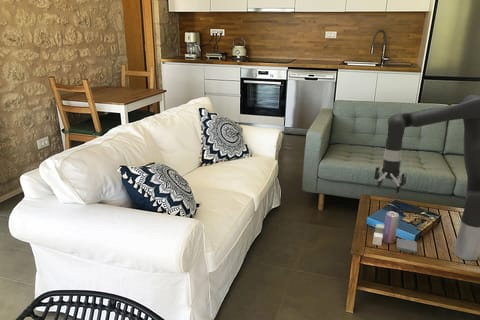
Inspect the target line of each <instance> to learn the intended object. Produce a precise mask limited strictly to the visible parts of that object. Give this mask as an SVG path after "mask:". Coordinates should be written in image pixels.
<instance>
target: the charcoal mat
mask: <svg viewBox="0 0 480 320" xmlns="http://www.w3.org/2000/svg"><path fill="white" fill-rule="evenodd" d="M417 244H418V243H417V241H413V240H409V239H403V238H399V237H398V238H396V250H399V251H404V252H409V253H413V254H417V253H418V245H417Z"/></svg>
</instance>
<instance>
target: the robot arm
mask: <svg viewBox="0 0 480 320" xmlns="http://www.w3.org/2000/svg"><path fill="white" fill-rule="evenodd" d="M455 120H462V121H463V128H464V130H463V162H464V167H465V171H466V172H465V173H466V175H467V176H466V177H467V180H466V181H467V185H466V195H465V204H464V206H463V207H464V209H463V212H462V215H461V218H460V222H459V228H458V232H457V236H456V240H455V245H454V248H453V254H454V255H455V257H457V258H459V259H461V260H464V261H477V260H478V257H479V253H480V95H478V94H469V95H468V96H466V97H465V98H464V99H463V100H462V102H460V103H458V104H453V105H449V106H441V107H440V106H439V107H432V108H425V109H420V110H416V111H413V112H404V113H396V114H393V115H392V116H390V117H388V120H387V137H386V140H385V148H384V152H383V160H382V161H383V162H382V167H381V166H377V167H376V168H375V171H374V176H373V177H374V180H377V188H378V189H382V187H383V180H384V179H388V180H391V181H393V182H394V183H395V184H396V187H395V188H396V189H395V194H400V192H401V190H402V187H404V186H405V185H407V172H401V171H400V170H401V164H402V163H401V161H402V148H403V147H402V146H403V138H404V135H405V128H409V127H410V128H411V127H412V128H420V127H425V126H430V125H433V124H439V123H443V122H444V123H445V122H449V121H455ZM381 172H382V175H381V176H380V173H381ZM399 176H400V177H399Z"/></svg>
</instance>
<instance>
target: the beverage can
mask: <svg viewBox="0 0 480 320" xmlns="http://www.w3.org/2000/svg"><path fill="white" fill-rule="evenodd" d="M399 219H400V215H399V213H398V212H395V211H392V210H389V211H387V212H386V214H385V220H384V224H383V225H384V231H383V237H382V242H384V243H385V244H394V243H395V241H396V239H397V238H396V236H397V232H398V231H397V230H398V226H399V225H398V224H399Z"/></svg>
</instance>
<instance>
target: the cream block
mask: <svg viewBox="0 0 480 320" xmlns="http://www.w3.org/2000/svg"><path fill="white" fill-rule="evenodd" d="M382 237H383V234H380V233H375V231H374V232H373V237H372V245H374V246H375V245H376V246H382V242H383V239H382Z"/></svg>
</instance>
